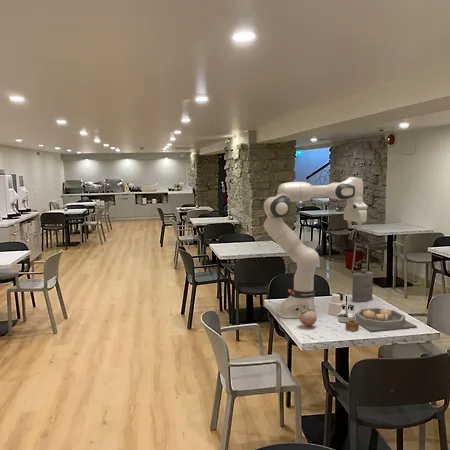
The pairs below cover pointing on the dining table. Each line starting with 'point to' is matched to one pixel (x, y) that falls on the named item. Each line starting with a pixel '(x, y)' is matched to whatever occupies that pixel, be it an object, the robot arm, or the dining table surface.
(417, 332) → the dining table surface
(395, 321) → the grey octagonal tray
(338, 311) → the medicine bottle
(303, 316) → the decorative fruit
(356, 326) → the planet gear
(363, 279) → the flask
